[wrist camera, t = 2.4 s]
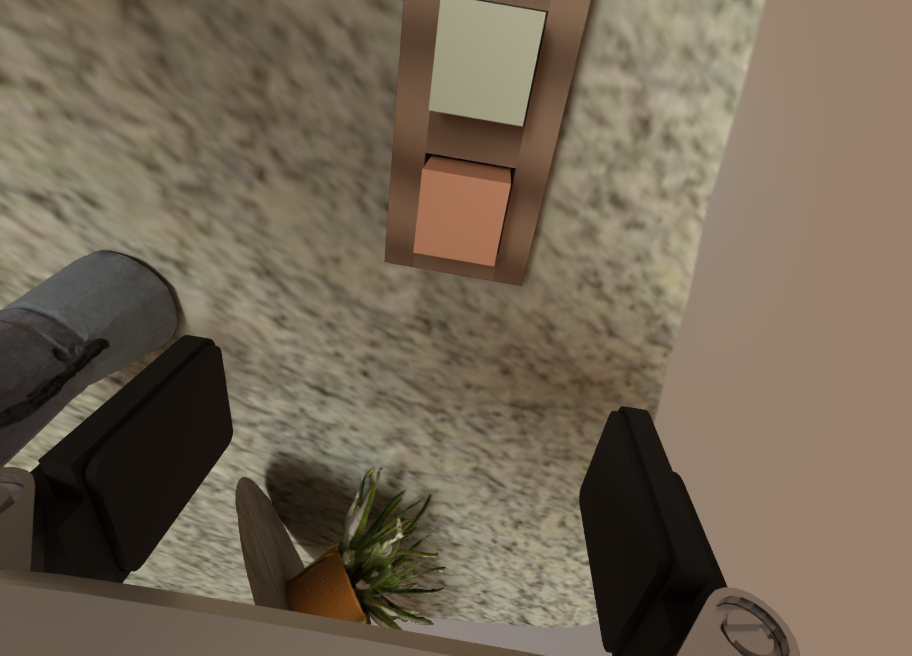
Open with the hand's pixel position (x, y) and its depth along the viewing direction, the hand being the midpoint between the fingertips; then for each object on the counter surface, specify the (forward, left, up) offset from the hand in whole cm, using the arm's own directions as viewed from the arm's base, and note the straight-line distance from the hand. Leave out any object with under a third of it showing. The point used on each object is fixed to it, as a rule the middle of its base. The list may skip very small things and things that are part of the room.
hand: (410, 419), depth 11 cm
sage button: (+3, +6, -22) cm, 23 cm away
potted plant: (-23, -28, -24) cm, 43 cm away
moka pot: (-30, +1, -24) cm, 38 cm away
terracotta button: (-1, -1, -22) cm, 22 cm away
